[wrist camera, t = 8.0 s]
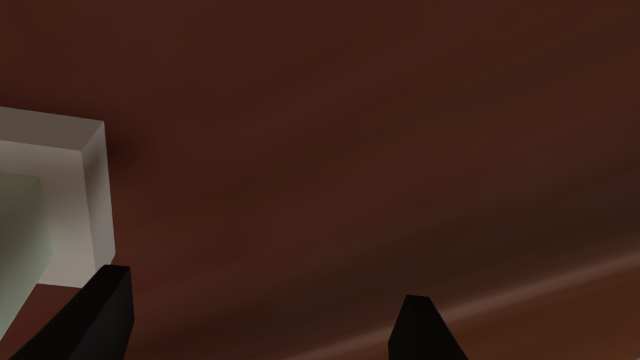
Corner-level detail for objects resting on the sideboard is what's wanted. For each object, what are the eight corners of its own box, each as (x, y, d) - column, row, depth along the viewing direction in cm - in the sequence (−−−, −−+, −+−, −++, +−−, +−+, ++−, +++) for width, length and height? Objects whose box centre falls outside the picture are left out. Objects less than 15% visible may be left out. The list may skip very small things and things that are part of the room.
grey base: (118, 247, 26) (98, 289, 23) (-40, 229, 25) (-79, 271, 22) (107, 116, 21) (81, 151, 19) (-86, 89, 20) (-140, 121, 18)
